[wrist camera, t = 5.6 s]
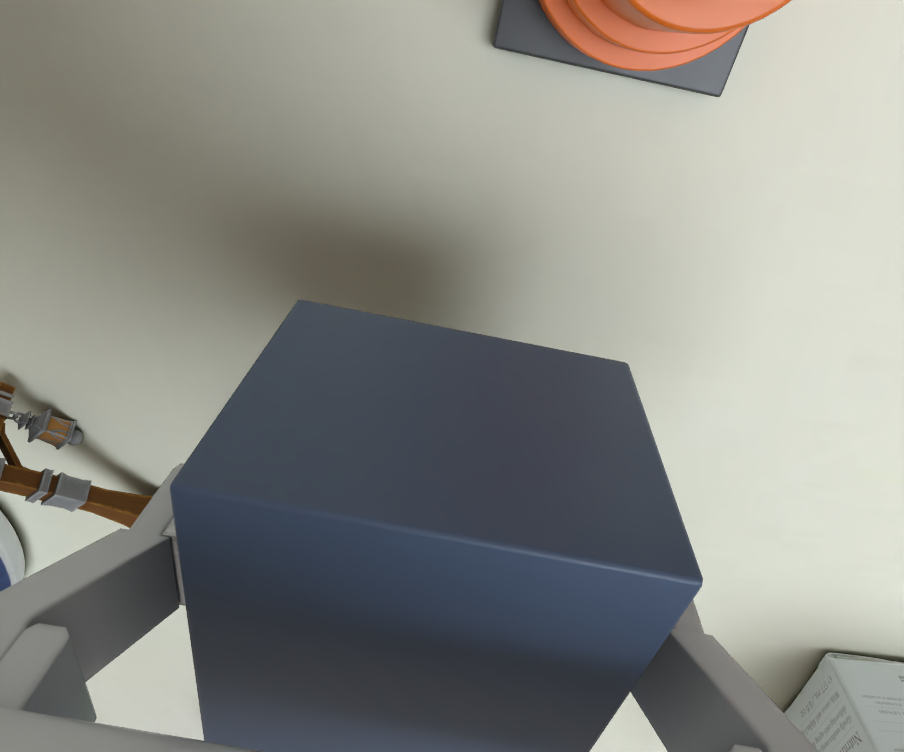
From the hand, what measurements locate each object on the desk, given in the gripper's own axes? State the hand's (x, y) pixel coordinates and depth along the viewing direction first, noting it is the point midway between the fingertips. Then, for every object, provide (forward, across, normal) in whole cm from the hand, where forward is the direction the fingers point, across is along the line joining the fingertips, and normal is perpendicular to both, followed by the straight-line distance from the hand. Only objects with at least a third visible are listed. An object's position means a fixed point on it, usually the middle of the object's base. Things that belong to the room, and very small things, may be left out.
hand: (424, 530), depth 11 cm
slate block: (+2, 0, 0) cm, 2 cm away
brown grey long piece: (+10, +14, +10) cm, 20 cm away
